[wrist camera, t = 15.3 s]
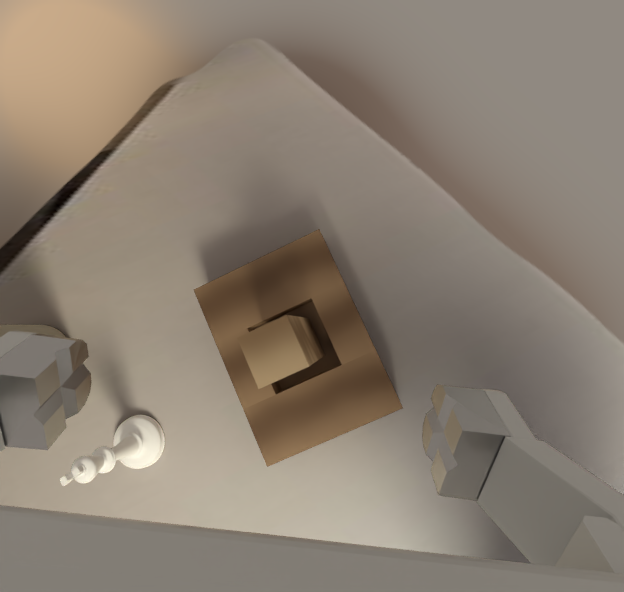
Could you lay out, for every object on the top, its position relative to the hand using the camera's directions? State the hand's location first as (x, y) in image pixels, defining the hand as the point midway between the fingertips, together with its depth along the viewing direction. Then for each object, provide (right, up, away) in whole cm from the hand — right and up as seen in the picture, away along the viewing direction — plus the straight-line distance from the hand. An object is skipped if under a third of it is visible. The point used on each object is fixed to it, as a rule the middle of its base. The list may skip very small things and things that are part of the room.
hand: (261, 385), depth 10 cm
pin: (0, -2, +26) cm, 26 cm away
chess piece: (-15, -12, +29) cm, 35 cm away
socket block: (0, -2, +28) cm, 28 cm away
